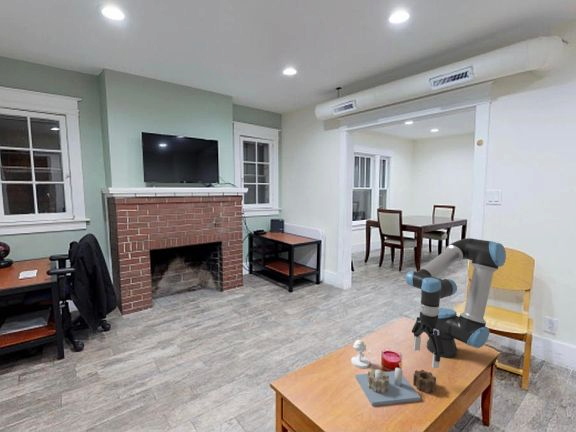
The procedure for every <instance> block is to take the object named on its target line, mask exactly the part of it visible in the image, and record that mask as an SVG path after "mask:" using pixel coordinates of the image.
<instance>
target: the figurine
mask: <svg viewBox="0 0 576 432" xmlns="http://www.w3.org/2000/svg"><path fill="white" fill-rule="evenodd" d="M352 345H353V346H352V348H353V349H355V352H358V354H356V355H354V356H352V357H351V364H352V365H353V366H354V367H355V368H359V369H366V368H369V366H370V360H369V358H368V357H366V356H364V355H365V354H364V352H366V351H367V346H366V345H367V344H365V342H364V341H363V340H361V339H356V340H355V342H354V343H353V344H352Z"/></svg>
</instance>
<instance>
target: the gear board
mask: <svg viewBox="0 0 576 432" xmlns="http://www.w3.org/2000/svg"><path fill="white" fill-rule="evenodd" d="M381 370H382V369H375V378H377V379H382V371H383V370H382V371H381ZM383 373H385V374H388V375H389V390H388V391H386V390H385V392H384V393H382V394H381V392H377V391H376V392H373V390H372V389H371V388H368V373H359V374H355V379H356V381H357V383H358V384H359V385H360V388H361V389H362V391H363V393H364V394H365V396H366V398H367V399H368V402H369V403H370V405H371V406H373V407H374V406H383V405H390V404H391V405H393V404H401V403H409V402H417V401H422V399H421V398H422V397H421V395H420V394H419V393H418V392H417V391H416V390H415V388H414V387H413V386H412V385H411V383H409V381H408V380H407V379H406V378H405V377H404V376H403V369H402V368H400V367H395V368H394V370H392V371H383Z"/></svg>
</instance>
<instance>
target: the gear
mask: <svg viewBox="0 0 576 432" xmlns="http://www.w3.org/2000/svg"><path fill="white" fill-rule="evenodd" d="M375 370H376V369H375V368H374V369H372V370H371V371H368V372H367V374H368V388H371V389H372V390H373V392H376V391H377V392H381V394H382V393H384V392H385V390H386V391H388V390H389V375H388V374H385V373H383V372H384V370H382V369H380V370H381V371H382V379H377V378H375Z"/></svg>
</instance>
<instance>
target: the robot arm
mask: <svg viewBox="0 0 576 432" xmlns="http://www.w3.org/2000/svg"><path fill="white" fill-rule="evenodd" d="M506 259H507V253H506V250H505V246H504V245H503V244H502V243H500V242H496V241H491V240H490V241H489V240H484V239H476V238H473V237H472V238H471V237H470V238H469V237H467V238H462V239H459V240H456V241H454V242H452V243H450V244H449V245H447V246H446V247H445V249H444V251H442V253H440V254H439V255H438V256H436V257H434V259H432V260H431V261H429V262H428V263H427V264H425V265H424V266H423V267H421V268H420V269H419V270H418V271H416V270H409V271H408V272H407V273H406V276H405V282H406V284H407V285H408V286H411V287H412V288H417V289H419V290H421V293H420V294H421V297H420V305H419V306H420V309H419V311H420V312H419V316H418V317H416V321H415V323H414V325H413V327H412V329H411V333H412V334H413V336H414V337H413V338H414V339H413V341H414V342H413V350H414V351H421V341H422V334H423V333H425V334H426V335H427V337H428V339H427V341H426V350H428V351H429V352H430V353H432V362H431V368H432V369H439V368H440V362H441V357H442V358H454V357H456V356H457V355H458V347H457V344H456V341H455V340H457V341H459V342H461V343H463V344H466V345H467V346H471V347H472V348H476V349H479V348H481V347H483V346H484V345H485V344H486V342H487V341H488V340H489V336H490V328H488V326H487V321H486V320H485V318H484V316H485V312H486V308H487V303H488V298H489V294H490V289H491V285H492V281H493V276H494V272H496V271H498V270H499V267H503V266H504V265H505V263H506ZM462 260H469V261H471V264H470V265H472V267H473V269H472V276H471V279H470V284H469V289H468V294H467V297H466V300H465V301H466V302H465V306H464V311H463V312H462V313H460V314H459V316H458V315H457V314H458V313H457V311H456V310H454V309H450V308H443V307H442V308H441V307H440V303H441V299H443V298H447V297H451V296H453V295H455V294H456V292H457V291H458V285H457V283H456V282H455V281H454V280H453V279H451V278H444V279H441V278H439V277H438V276H440V275H441V274H442V273H444V272H445V271H446V270H447V269H448V268H450V267H451V266H452V265H454V264H455V263H456V262H461V261H462Z"/></svg>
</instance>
